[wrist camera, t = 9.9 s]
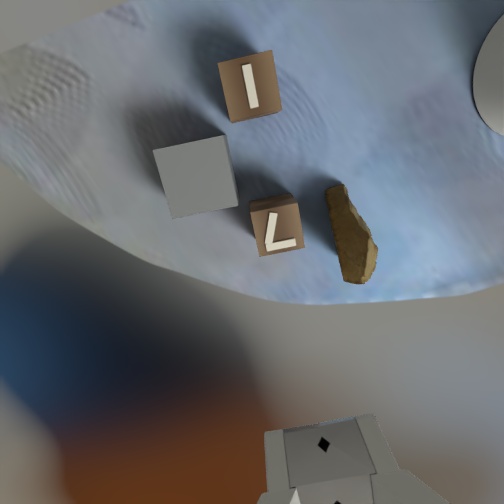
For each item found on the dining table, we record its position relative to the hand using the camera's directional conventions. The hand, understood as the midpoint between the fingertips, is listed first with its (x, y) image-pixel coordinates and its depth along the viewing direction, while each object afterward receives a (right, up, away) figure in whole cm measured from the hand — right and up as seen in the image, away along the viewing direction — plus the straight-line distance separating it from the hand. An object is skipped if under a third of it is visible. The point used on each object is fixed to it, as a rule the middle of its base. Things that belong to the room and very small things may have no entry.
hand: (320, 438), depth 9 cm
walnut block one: (-2, +22, +27) cm, 35 cm away
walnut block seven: (+1, +9, +32) cm, 33 cm away
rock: (+10, +9, +33) cm, 35 cm away
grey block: (-8, +14, +30) cm, 34 cm away
